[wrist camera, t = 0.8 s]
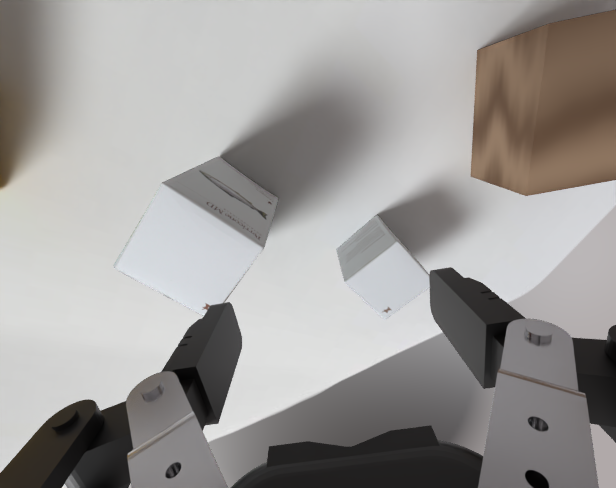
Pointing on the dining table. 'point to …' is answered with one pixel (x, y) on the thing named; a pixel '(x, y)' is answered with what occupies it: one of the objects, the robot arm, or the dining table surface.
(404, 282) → the skincare box
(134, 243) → the supplement box
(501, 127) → the walnut block
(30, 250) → the dining table surface
